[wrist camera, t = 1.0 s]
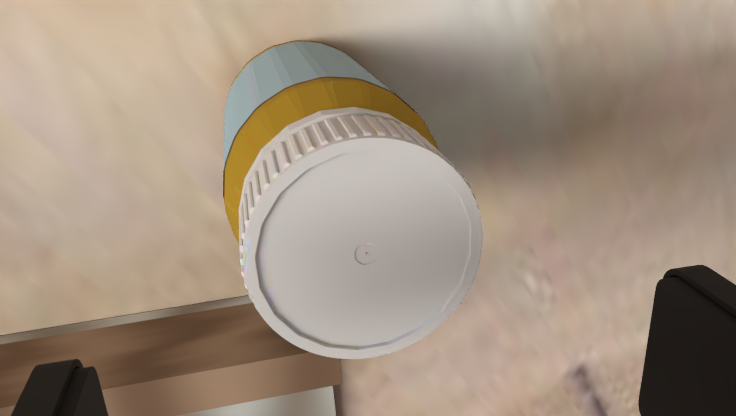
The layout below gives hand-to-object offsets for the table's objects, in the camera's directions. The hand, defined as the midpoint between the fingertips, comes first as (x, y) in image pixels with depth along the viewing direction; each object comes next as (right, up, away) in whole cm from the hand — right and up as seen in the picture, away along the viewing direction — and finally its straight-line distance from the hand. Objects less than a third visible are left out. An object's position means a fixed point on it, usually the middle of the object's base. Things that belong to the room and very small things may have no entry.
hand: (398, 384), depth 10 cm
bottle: (-4, +7, +19) cm, 21 cm away
